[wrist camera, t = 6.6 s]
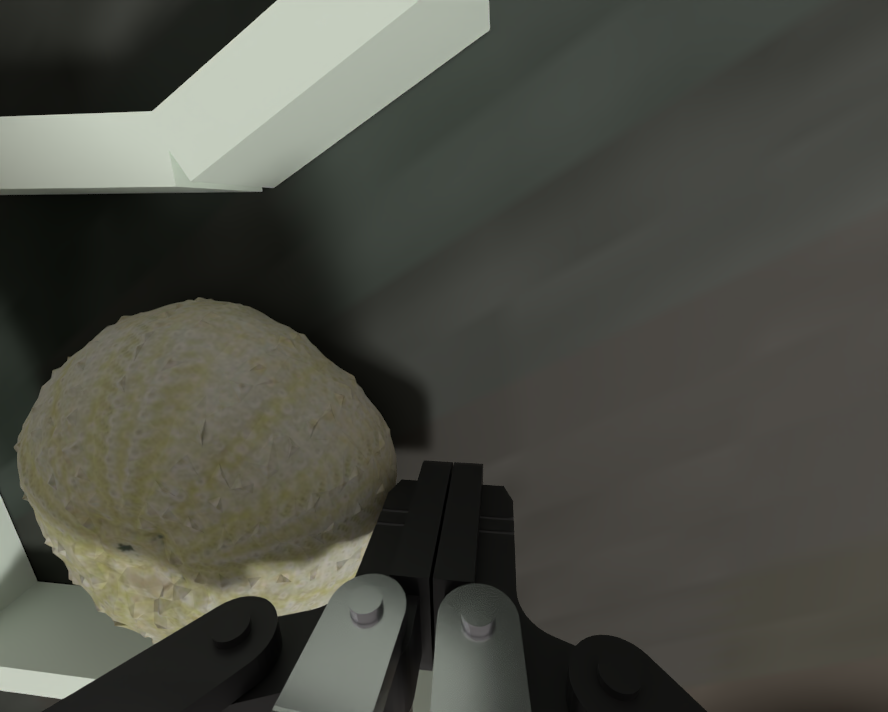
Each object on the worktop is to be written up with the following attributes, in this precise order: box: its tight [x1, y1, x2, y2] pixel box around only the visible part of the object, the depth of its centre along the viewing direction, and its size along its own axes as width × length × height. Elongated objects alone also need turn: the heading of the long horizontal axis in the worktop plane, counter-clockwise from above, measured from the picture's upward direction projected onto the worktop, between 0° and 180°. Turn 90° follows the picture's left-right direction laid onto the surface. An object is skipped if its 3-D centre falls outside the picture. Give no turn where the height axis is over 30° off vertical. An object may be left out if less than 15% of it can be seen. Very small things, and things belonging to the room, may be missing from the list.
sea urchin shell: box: [14, 297, 397, 644], centre depth 11 cm, size 9×8×8 cm
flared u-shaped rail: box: [0, 0, 490, 712], centre depth 12 cm, size 22×18×3 cm
